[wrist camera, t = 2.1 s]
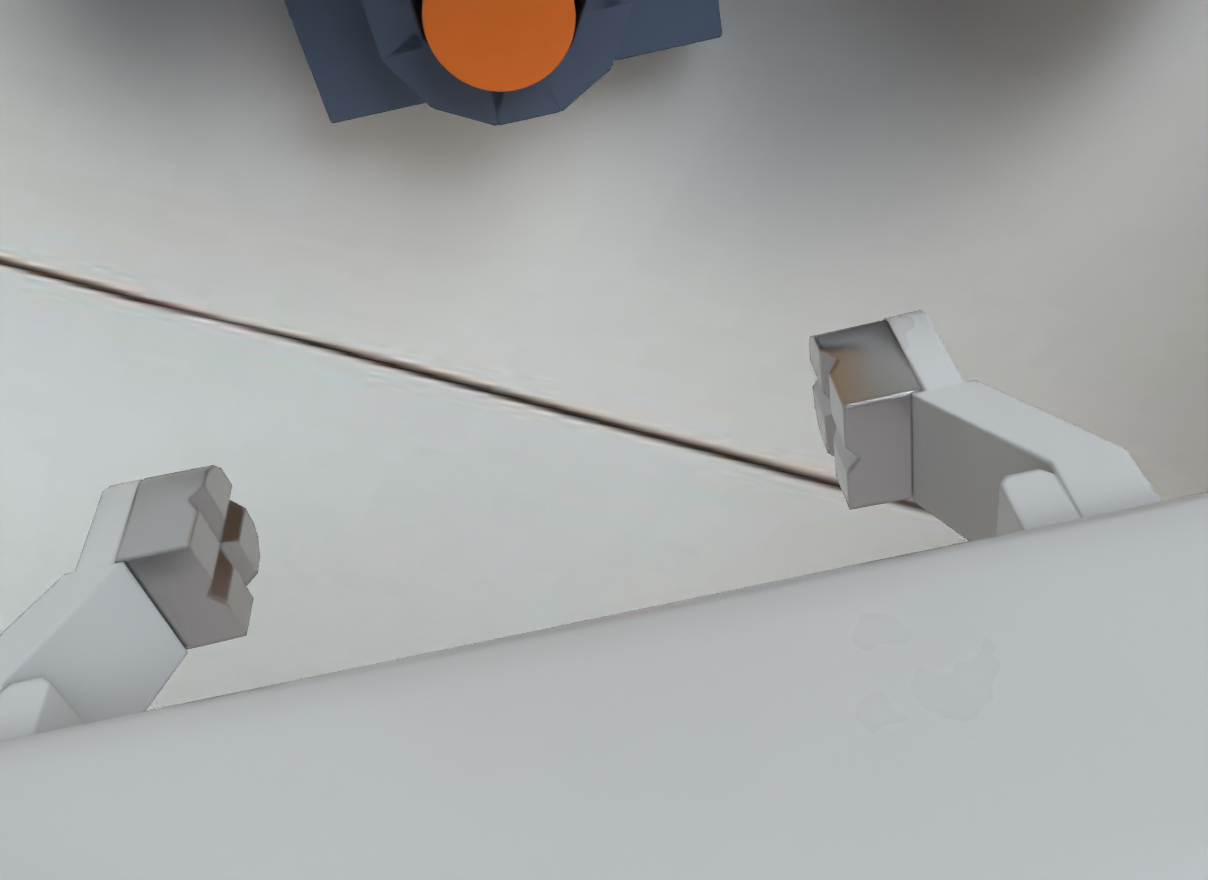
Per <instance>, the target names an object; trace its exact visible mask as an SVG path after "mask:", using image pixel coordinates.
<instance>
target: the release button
mask: <svg viewBox="0 0 1208 880" xmlns="http://www.w3.org/2000/svg"><path fill="white" fill-rule="evenodd" d="M422 23H423V29H424V33H425V36H426V39H427V42H428V44H429V46H430V48H431V50H432V52H433V54H434V55H435V57H436V58H437V60H438V61H439V62H440V63H441V64H442V66H443V67H444V68H445V69H446V70H447V71H449V72H450V73H451V74H452V75H453V76H455V77H456V78H458V79H459V80H461V81H462V82H464V83H466V84H468V85H471V86H473V87H476V88H479V89H483V90H488V91H497V92H505V91H514V90H519V89H522V88H526V87H528V86H531V85H533V84H535V83H537V82H539V81H540V80H542V79H544V78H545V77H546V76H548V75H549V74H550V73H551V72H552V71H553V70H554V69H555V68H556V67H557V66H558V65H559V64H560V62H561V61H562V60H563V58H564V57H565V55H566V53H567V51H568V50H569V47H570V45H571V42H572V39H573V35H574V31H575V23H576V11H575V4H574V0H423V1H422Z"/></svg>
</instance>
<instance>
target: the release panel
mask: <svg viewBox="0 0 1208 880" xmlns="http://www.w3.org/2000/svg"><path fill="white" fill-rule="evenodd" d="M422 1H423V0H284V2H285V5H286V7H287V10H288V12H289V15H290V18H291V20H292V23H293V25H294V28H295V31H296V33H297V36H298V38H299V41H300V44H301V46H302V49H303V51H304V54H305V57H306V59H307V62H308V64H309V67H310V70H311V72H312V75H313V78H314V80H315V83H316V85H317V88H318V91H319V93H320V96H321V98H322V101H323V104H324V106H325V109H326V111H327V114H328V117H329V119H330V121H331V122H332V123H336V122H341V121H345V120H350V119H354V118H359V117H363V116H368V115H372V114H377V113H381V112H386V111H390V110H395V109H399V108H404V107H408V106H413V105H417V104H422V103H427V104H428V105H429V106H430V107H433V108H434V109H437V110H441V111H445V112H448V113H452V114H455V115H459V116H463V117H466V118H470V119H473V120H477V121H481V122H484V123H488V124H491V125H497V124H498V125H503V124H507V123H512V122H517V121H521V120H526V119H530V118H535V117H539V116H544V115H548V114H553V113H557V112H560V110H561V111H563V110H564V109H565V108H567V107H568V106H569V105H570V104H571V103H572V102H573V101H575V100H576V99H577V98H578V97H579V96H580V95H581V94H583V93H584V92H585V91H586V90H587V89H588V88H590V87H591V86H592V85H593V84H594V83H595V82H596V81H598V80H599V79H600V78H601V77H602V76H603V75H604V74H606V73H607V72H608V71H609V70H610V69H611V67H612V65H613V63H614V61H615V60H620V59H624V58H629V57H633V56H637V55H642V54H646V53H651V52H655V51H660V50H664V49H669V48H673V47H678V46H682V45H687V44H691V43H696V42H700V41H705V40H709V39H714V38H718V37H721V36H722V27H721V19H720V11H719V2H718V0H574V4H575V11H576V23H575V31H574V35H573V39H572V42H571V45H570V47H569V50H568V51H567V53H566V55H565V57H564V58H563V60H562V61H561V62H560V64H559V65H558V66H557V67H556V68H555V69H554V70H553V71H552V72H551V73H550V74H549V75H548V76H546V77H545V78H544V79H542V80H540V81H539V82H537V83H535V84H533V85H531V86H528V87H526V88H522V89H519V90H514V91H505V92H497V91H488V90H483V89H479V88H476V87H473V86H471V85H468V84H466V83H464V82H462V81H461V80H459V79H458V78H456V77H455V76H453V75H452V74H451V73H450V72H449V71H447V70H446V69H445V68H444V67H443V66H442V64H441V63H440V62H439V61H438V60H437V58H436V57H435V55H434V54H433V52H432V50H431V48H430V46H429V44H428V42H427V39H426V36H425V33H424V29H423V23H422Z"/></svg>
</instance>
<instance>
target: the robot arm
mask: <svg viewBox="0 0 1208 880" xmlns="http://www.w3.org/2000/svg"><path fill="white" fill-rule="evenodd" d="M809 349H810V361H811V364H812V366H813V369H814V371H815V374H816V376H817V381H816V382H815V384H814V385H813V394H814V403H815V410H816V415H817V420H818V426H819V429H820V432H821V436H822V439H823V442H824V445H825V447H826V450H827V453H829V454H831V455H832V456H834V457H835V468H836V476H837V479H838V481H839V484H840V487H841V489H842V492H843V494H844V497H845V499H846V502H847V504H848V507H849V509H850V510H851V509H856V508H862V507H867V506H873V505H878V504H884V503H889V502H895V501H900V500H906V499H911V498H913V501H914V502H915V503H917V504H918V505H920V506H921V507H922V508H924V509H925V510H927V511H928V512H929V513H931V514H932V515H933V516H935V517H936V518H938V519H939V520H940V521H942V522H943V523H945V524H946V525H947V526H949V527H950V528H952V529H953V530H954V531H956V532H957V533H959V534H960V535H961V536H963V537H964V538H966V539H967V540H968V542H963V543H958V544H953V545H948V546H943V547H939V548H934V549H929V550H924V551H919V552H914V553H910V554H905V555H900V556H895V557H890V558H885V559H880V560H876V561H871V562H866V563H861V564H856V565H852V566H847V567H842V568H837V569H832V570H827V571H823V572H818V573H813V574H808V575H803V576H798V577H794V578H789V579H784V580H779V581H774V582H769V583H764V584H760V585H755V586H750V587H745V588H740V589H735V590H730V591H726V592H721V593H716V594H711V595H706V596H701V597H697V598H692V599H687V600H682V601H677V602H672V603H667V604H663V605H658V606H653V607H648V608H643V609H638V610H633V611H629V612H624V613H619V614H614V615H609V616H604V617H600V618H595V619H590V620H585V621H580V622H575V623H571V624H566V625H561V626H556V627H551V628H547V629H542V630H537V631H532V632H527V633H522V634H518V635H513V636H508V637H503V638H498V639H493V640H488V641H484V642H479V643H474V644H469V645H464V646H459V647H454V648H450V649H445V650H440V651H435V652H430V653H425V654H420V655H416V656H411V657H406V658H401V659H396V660H391V661H386V662H382V663H377V664H372V665H367V666H362V667H357V668H352V669H348V670H343V671H338V672H333V673H328V674H323V675H319V676H314V677H309V678H304V679H299V680H294V681H289V682H285V683H280V684H275V685H270V686H265V687H260V688H255V689H251V690H246V691H241V692H236V693H231V694H226V695H221V696H217V697H212V698H207V699H202V700H197V701H192V702H187V703H183V704H178V705H173V706H168V707H163V708H158V709H153V710H149V711H146V710H147V708H148V707H149V706H150V704H151V703H152V701H153V700H154V699H155V697H156V696H157V694H158V693H159V692H160V690H161V689H162V688H163V686H164V685H165V683H166V682H167V681H168V679H169V678H170V677H171V675H172V674H173V672H174V671H175V670H176V668H177V667H178V666H179V664H180V663H181V661H182V660H183V659H184V657H185V656H186V655H187V653H188V652H187V650H188V649H192V648H196V647H200V646H204V645H209V644H213V643H217V642H221V641H226V640H230V639H234V638H238V637H242V636H247V631H248V625H249V620H250V614H251V609H252V603H253V597H252V595H251V593H250V592H249V590H248V588H247V587H246V586H247V585H248V584H249V582H250V581H251V580H252V579H253V578H254V577H255V576H256V574H257V573H258V568H259V561H260V551H259V541H258V535H257V532H256V529H255V526H254V523H253V521H252V519H251V517H250V515H249V514H248V512H247V510H246V508H244V507H242V506H240V505H238V504H237V503H235V502H233V501H231V500H229V499H230V494H231V489H232V484H231V483H230V481H229V479H228V478H227V476H226V475H225V473H224V472H223V470H222V468H220V467H217V466H214V465H211V466H206V467H201V468H196V469H191V470H186V471H180V472H175V473H170V474H165V475H160V476H154V477H149V478H145V479H144V480H136V481H131V482H126V483H121V484H116V485H111V486H109V487H108V488H107V489H106V490H104V491H103V492H102V494H101V497H100V500H99V503H98V506H97V509H96V512H95V515H94V518H93V520H92V523H91V526H90V529H89V532H88V535H87V538H86V541H85V544H84V547H83V549H82V552H81V555H80V558H79V561H78V564H77V567H76V570H75V572H73V573H68V574H64V575H63V576H62V577H61V578H60V579H59V580H58V581H57V582H56V583H55V584H54V585H53V586H51V587H50V588H49V589H48V590H47V591H46V592H45V593H44V594H43V595H42V596H41V597H40V598H39V599H38V600H37V601H35V602H34V603H33V604H32V605H31V606H30V607H29V608H28V609H27V610H26V611H25V612H24V613H23V614H22V615H21V616H20V617H18V618H17V619H16V620H15V621H14V622H13V623H12V624H11V625H10V626H9V627H8V628H7V629H6V630H5V631H4V632H3V633H1V634H0V880H1208V492H1205V493H1200V494H1195V495H1191V496H1186V497H1181V498H1176V499H1171V500H1166V501H1161V499H1160V498H1159V496H1158V495H1157V493H1156V492H1155V490H1154V489H1153V487H1152V486H1151V485H1150V483H1149V482H1148V480H1147V479H1146V477H1145V476H1144V474H1143V473H1142V471H1141V470H1140V469H1139V467H1138V466H1137V464H1136V463H1135V461H1134V460H1133V458H1132V457H1131V455H1130V454H1129V452H1128V451H1127V450H1126V449H1125V448H1123V447H1121V446H1119V445H1117V444H1114V443H1112V442H1110V441H1108V440H1106V439H1104V438H1101V437H1099V436H1097V435H1095V434H1093V433H1090V432H1088V431H1086V430H1084V429H1082V428H1080V427H1077V426H1075V425H1073V424H1071V423H1069V422H1066V421H1064V420H1062V419H1060V418H1058V417H1055V416H1053V415H1051V414H1049V413H1047V412H1045V411H1042V410H1040V409H1038V408H1036V407H1034V406H1031V405H1029V404H1027V403H1025V402H1023V401H1020V400H1018V399H1016V398H1014V397H1012V396H1010V395H1007V394H1005V393H1003V392H1001V391H999V390H996V389H994V388H992V387H990V386H988V385H986V384H983V383H981V382H979V381H977V380H974V381H969V382H965V381H964V379H963V377H962V376H961V374H960V372H959V370H958V369H957V367H956V365H955V363H954V362H953V360H952V358H951V356H950V355H949V353H948V351H947V349H946V348H945V346H944V344H943V342H942V341H941V339H940V337H939V335H938V334H937V332H936V330H935V328H934V327H933V325H932V323H931V321H930V320H929V318H928V316H927V314H926V313H925V312H923V311H921V310H918V311H914V312H910V313H906V314H901V315H897V316H893V317H889V318H885V319H884V320H882V321H877V322H872V323H868V324H863V325H859V326H854V327H850V328H845V329H841V330H836V331H832V332H827V333H823V334H818V335H814V336H810V342H809Z"/></svg>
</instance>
